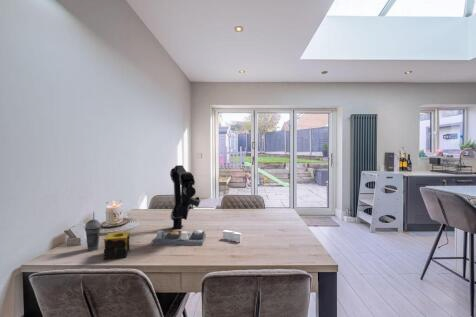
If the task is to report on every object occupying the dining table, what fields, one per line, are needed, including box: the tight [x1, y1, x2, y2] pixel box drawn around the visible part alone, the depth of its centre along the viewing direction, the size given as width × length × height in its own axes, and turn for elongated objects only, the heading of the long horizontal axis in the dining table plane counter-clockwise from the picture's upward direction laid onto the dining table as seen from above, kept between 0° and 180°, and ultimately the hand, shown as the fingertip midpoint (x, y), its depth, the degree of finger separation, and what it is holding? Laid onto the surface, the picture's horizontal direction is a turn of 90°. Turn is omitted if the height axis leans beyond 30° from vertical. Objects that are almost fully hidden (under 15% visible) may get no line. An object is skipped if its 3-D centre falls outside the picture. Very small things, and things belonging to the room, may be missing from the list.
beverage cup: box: [84, 211, 102, 252], centre depth 128 cm, size 7×7×20 cm
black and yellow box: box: [103, 231, 131, 261], centre depth 122 cm, size 10×10×10 cm
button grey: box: [193, 229, 203, 235], centre depth 142 cm, size 5×5×2 cm
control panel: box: [151, 230, 207, 246], centre depth 143 cm, size 13×28×4 cm, turn 89°
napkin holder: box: [222, 229, 243, 243], centre depth 144 cm, size 15×11×6 cm
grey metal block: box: [156, 230, 165, 240], centre depth 139 cm, size 3×3×4 cm
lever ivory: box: [181, 230, 189, 240], centre depth 139 cm, size 3×3×4 cm
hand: (185, 219), depth 147 cm, fingers closed
